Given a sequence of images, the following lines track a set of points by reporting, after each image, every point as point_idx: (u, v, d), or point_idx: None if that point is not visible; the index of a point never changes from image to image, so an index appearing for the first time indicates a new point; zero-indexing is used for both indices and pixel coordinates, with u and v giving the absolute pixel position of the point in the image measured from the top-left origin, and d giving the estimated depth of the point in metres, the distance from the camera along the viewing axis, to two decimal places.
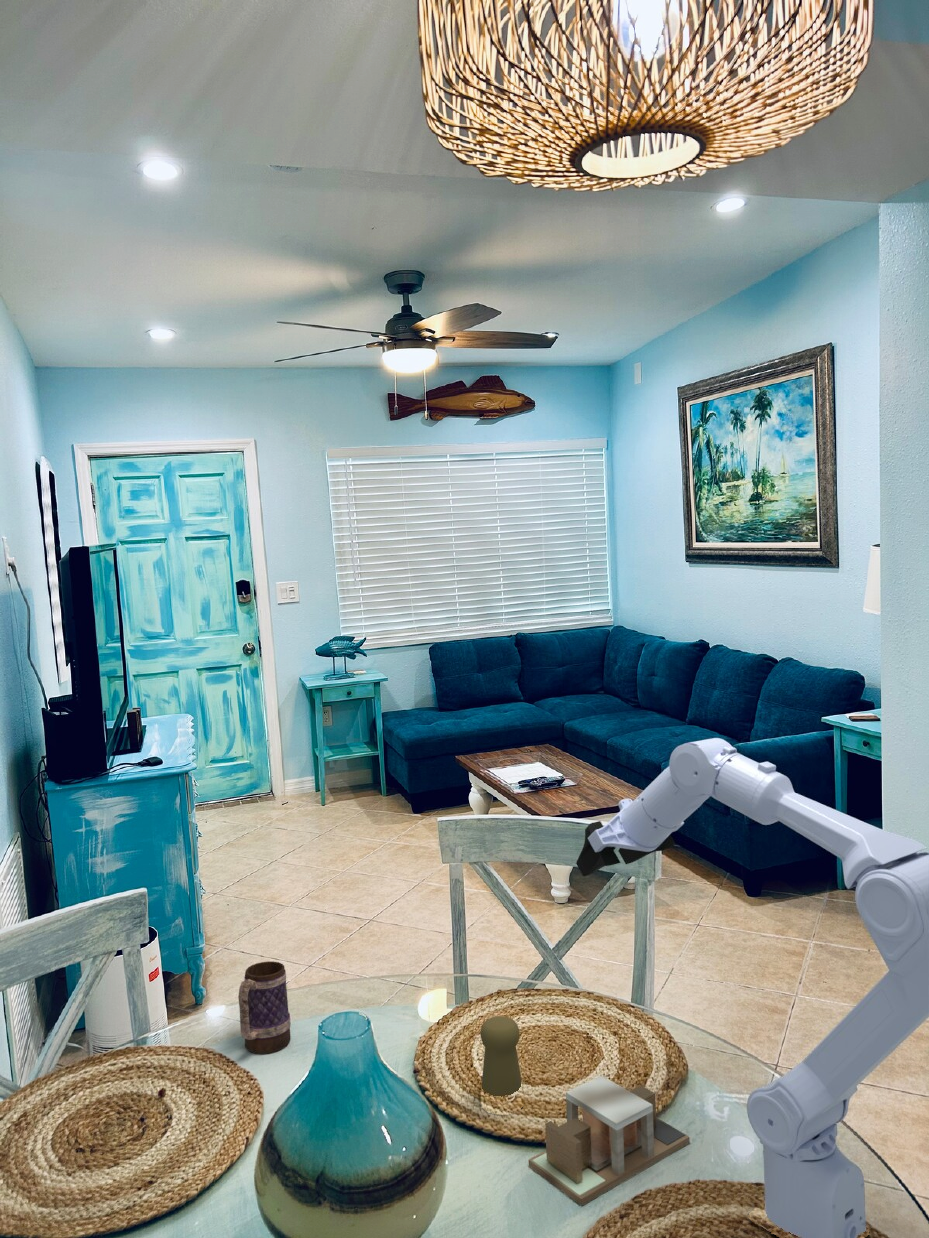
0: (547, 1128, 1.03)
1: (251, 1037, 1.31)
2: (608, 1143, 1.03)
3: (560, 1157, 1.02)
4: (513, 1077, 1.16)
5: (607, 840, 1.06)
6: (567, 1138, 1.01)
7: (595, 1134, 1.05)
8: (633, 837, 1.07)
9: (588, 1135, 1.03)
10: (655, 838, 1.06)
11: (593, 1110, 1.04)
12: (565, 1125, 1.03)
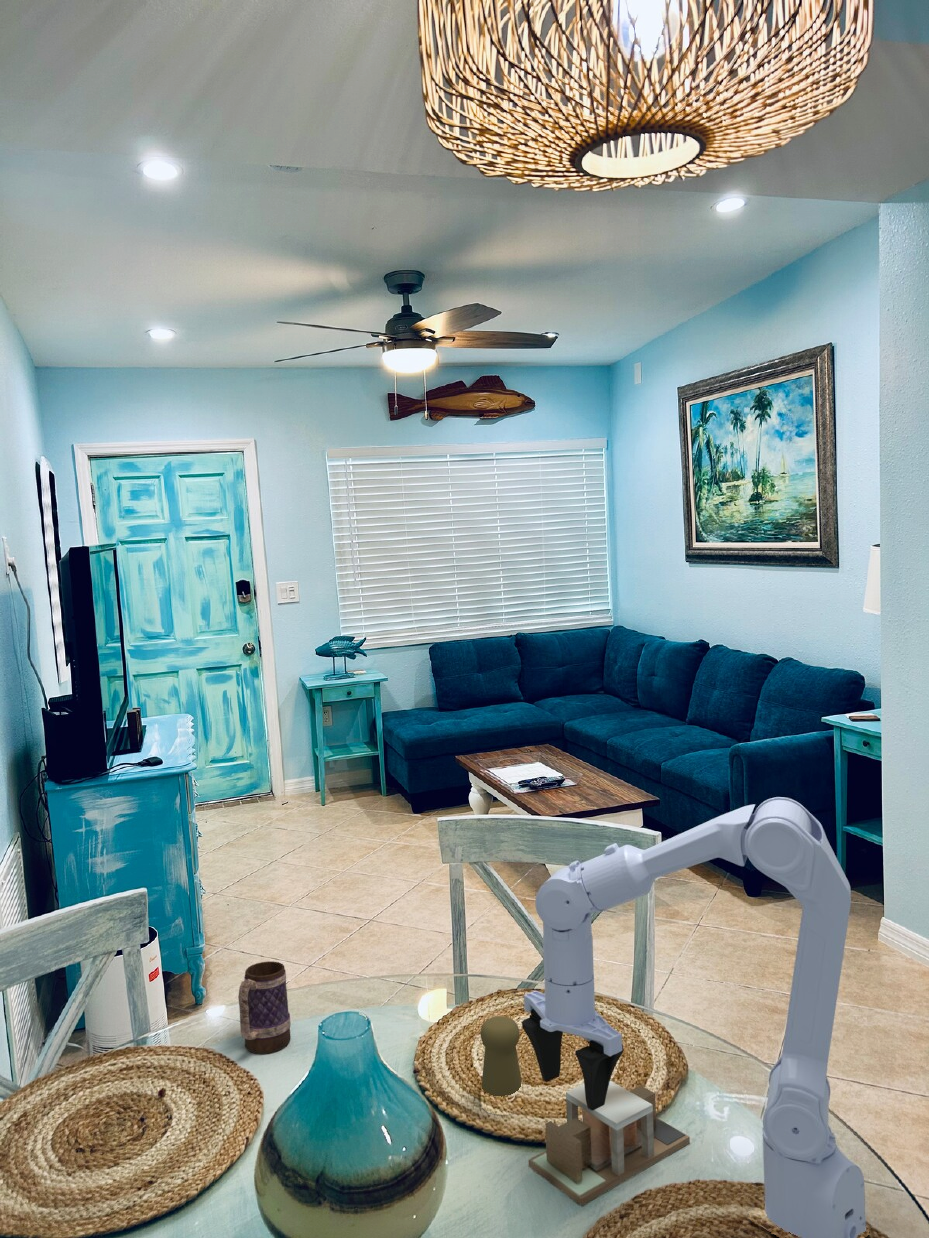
0: (547, 1128, 1.03)
1: (251, 1037, 1.31)
2: (608, 1143, 1.03)
3: (560, 1157, 1.02)
4: (513, 1077, 1.16)
5: None
6: (567, 1138, 1.01)
7: (595, 1134, 1.05)
8: (593, 1014, 1.01)
9: (588, 1135, 1.03)
10: None
11: (593, 1110, 1.04)
12: (565, 1125, 1.03)
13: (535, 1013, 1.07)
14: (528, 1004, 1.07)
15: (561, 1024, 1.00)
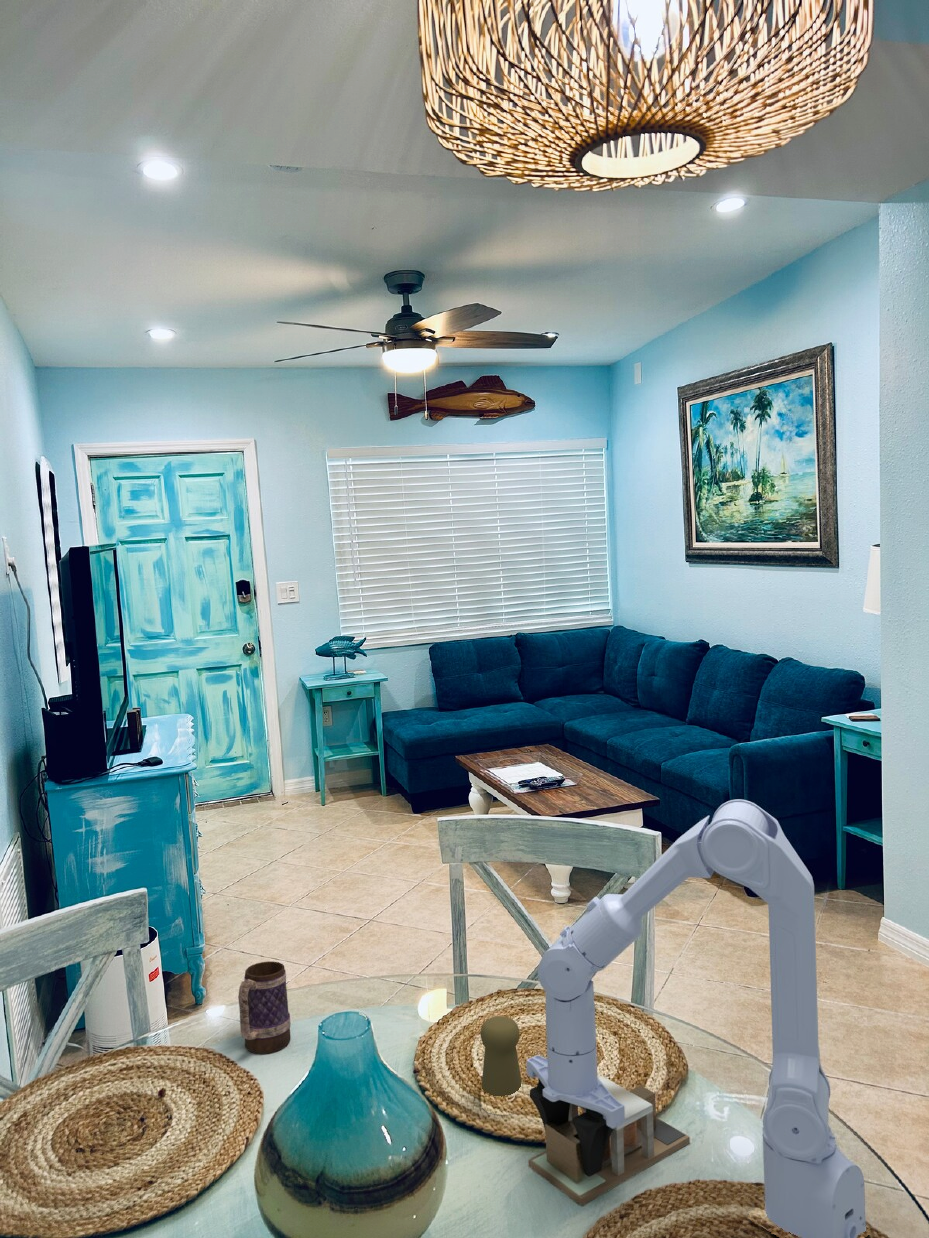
0: (547, 1128, 1.03)
1: (251, 1037, 1.31)
2: (608, 1143, 1.03)
3: (560, 1157, 1.02)
4: (513, 1077, 1.16)
5: None
6: (567, 1138, 1.01)
7: None
8: (595, 1083, 1.02)
9: None
10: None
11: None
12: (565, 1125, 1.03)
13: None
14: (530, 1069, 1.08)
15: (564, 1094, 1.00)
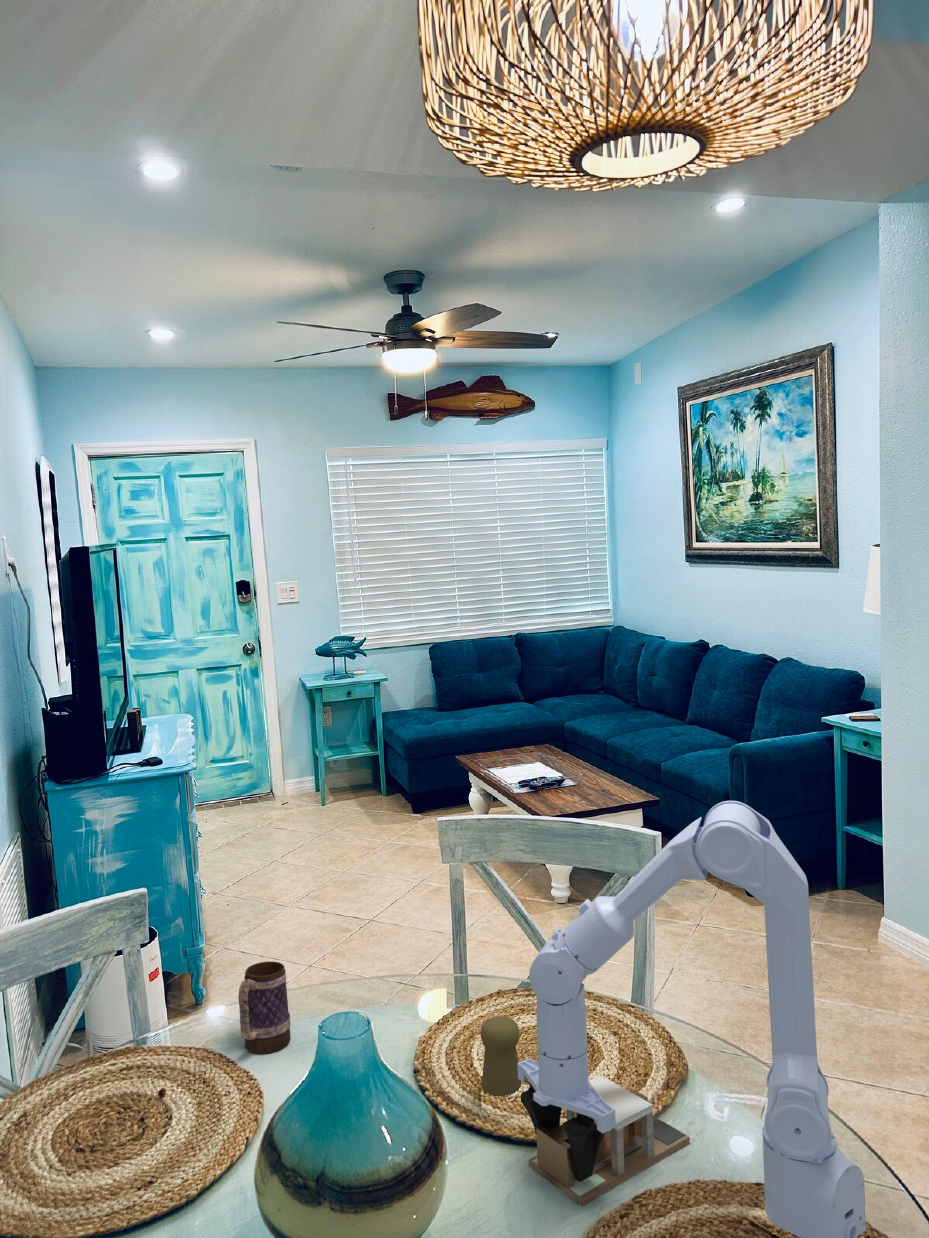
0: (538, 1132, 1.03)
1: (251, 1037, 1.31)
2: (600, 1148, 1.03)
3: (551, 1162, 1.01)
4: (513, 1077, 1.16)
5: None
6: (558, 1143, 1.00)
7: None
8: (587, 1087, 1.01)
9: None
10: None
11: None
12: (556, 1129, 1.02)
13: None
14: (522, 1073, 1.07)
15: (554, 1098, 0.99)
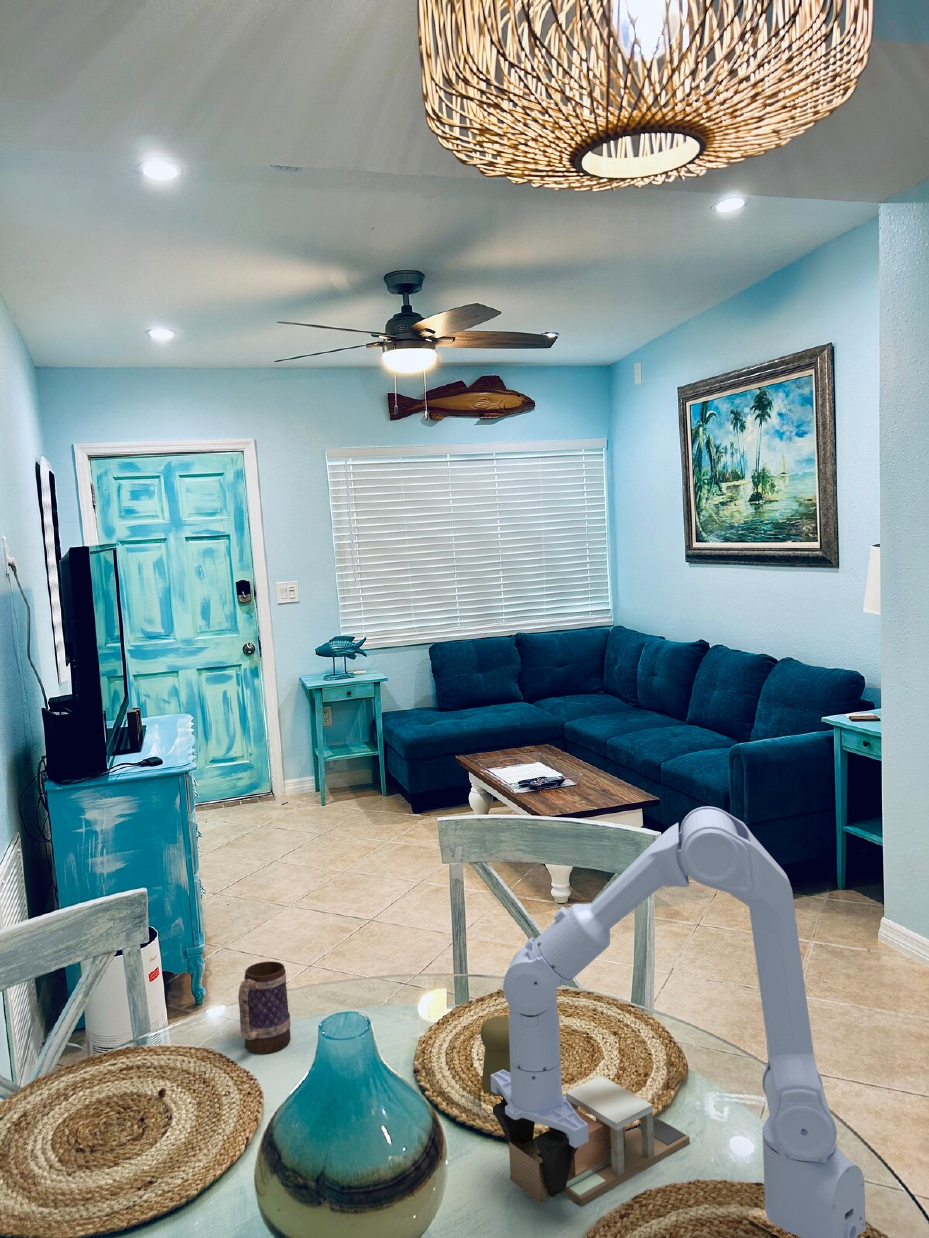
0: (511, 1146, 1.00)
1: (251, 1037, 1.31)
2: (573, 1162, 1.00)
3: (523, 1176, 0.99)
4: None
5: None
6: (530, 1157, 0.98)
7: None
8: (560, 1100, 0.98)
9: None
10: None
11: (593, 1110, 1.04)
12: (529, 1143, 1.00)
13: (502, 1095, 1.04)
14: (495, 1085, 1.04)
15: (526, 1111, 0.97)
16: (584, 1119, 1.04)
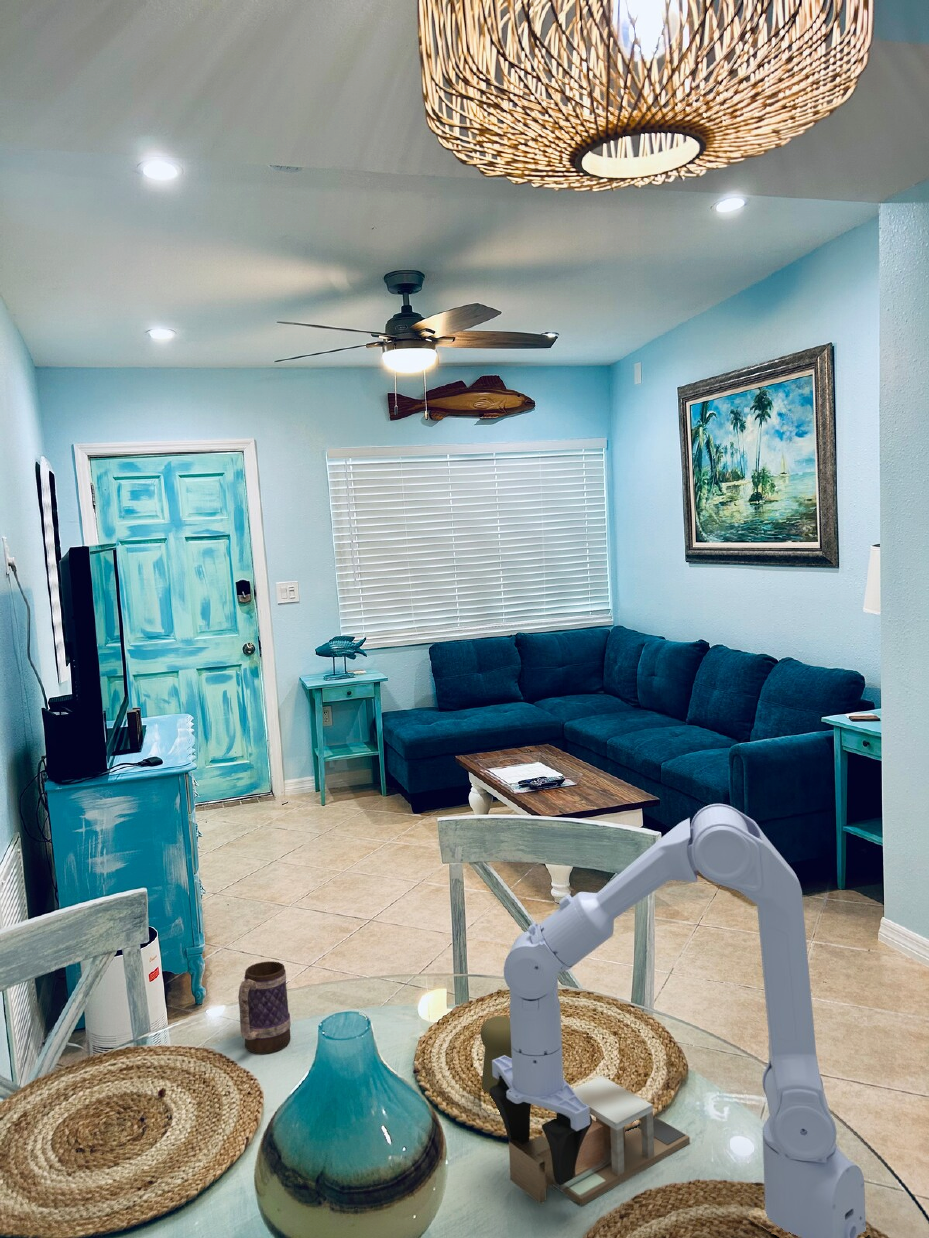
0: (511, 1146, 1.00)
1: (251, 1037, 1.31)
2: None
3: (523, 1176, 0.99)
4: None
5: None
6: (530, 1157, 0.98)
7: None
8: (561, 1084, 0.98)
9: None
10: None
11: (593, 1110, 1.04)
12: (529, 1143, 1.00)
13: (503, 1080, 1.04)
14: (496, 1070, 1.04)
15: (528, 1095, 0.97)
16: None
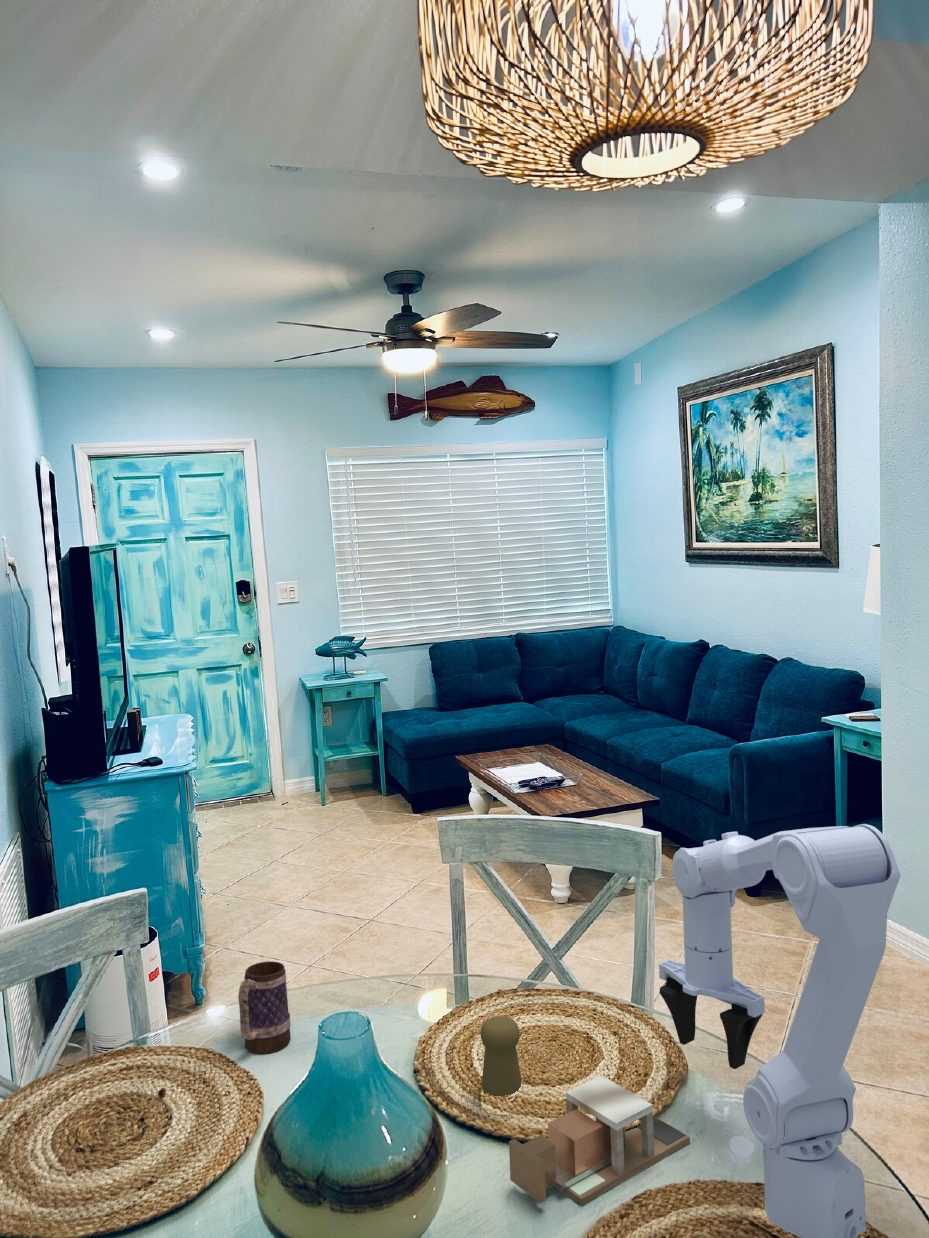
0: (511, 1146, 1.00)
1: (251, 1037, 1.31)
2: (573, 1162, 1.00)
3: (523, 1176, 0.99)
4: (513, 1077, 1.16)
5: None
6: (530, 1157, 0.98)
7: (561, 1152, 1.02)
8: (732, 980, 1.08)
9: (553, 1154, 0.99)
10: None
11: (593, 1110, 1.04)
12: (529, 1143, 1.00)
13: (671, 980, 1.14)
14: (664, 972, 1.14)
15: (704, 989, 1.07)
16: (584, 1119, 1.04)
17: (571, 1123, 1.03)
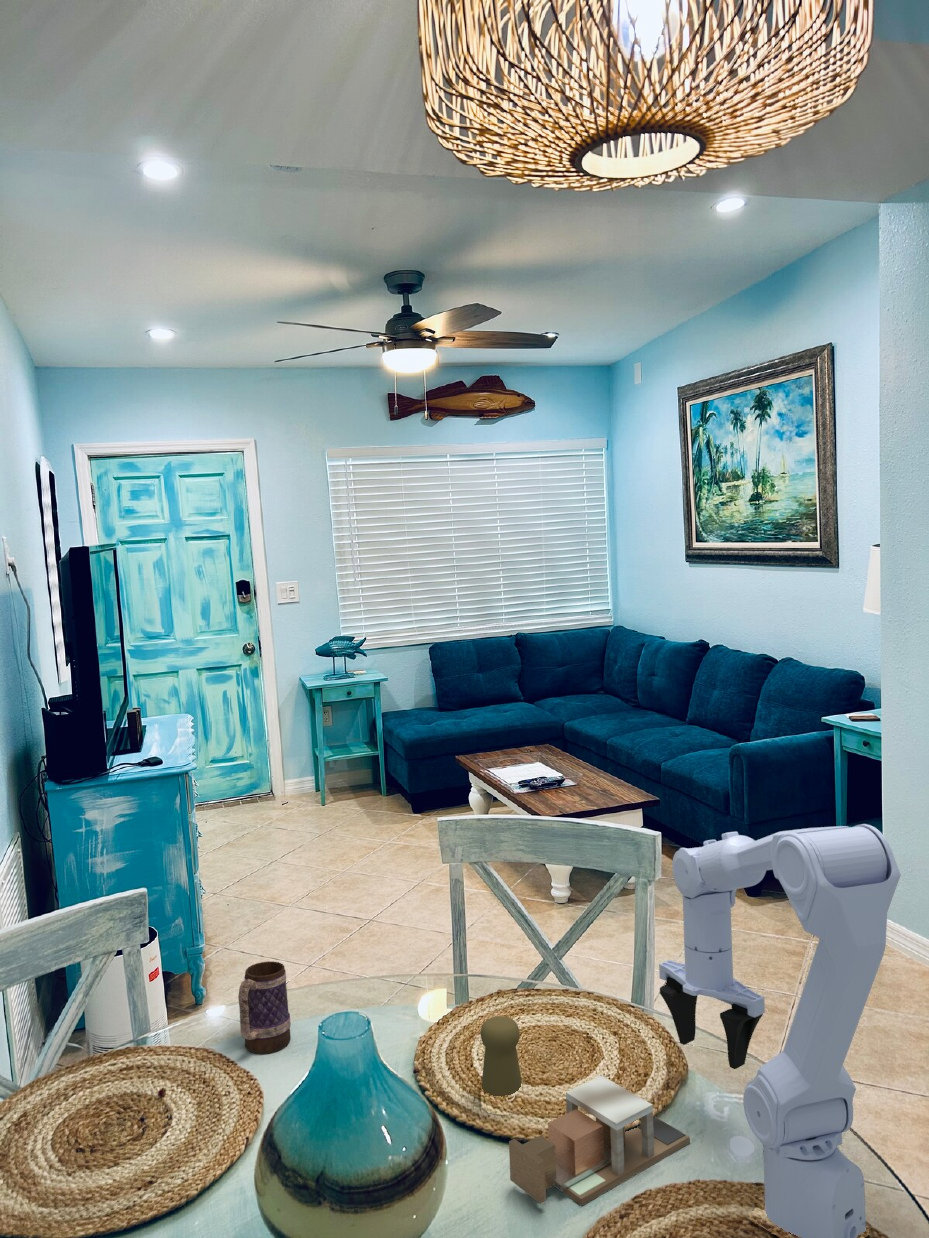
0: (511, 1146, 1.00)
1: (251, 1037, 1.31)
2: (573, 1162, 1.00)
3: (523, 1176, 0.99)
4: (513, 1077, 1.16)
5: None
6: (530, 1157, 0.98)
7: (561, 1152, 1.02)
8: (732, 980, 1.08)
9: (553, 1154, 0.99)
10: None
11: (593, 1110, 1.04)
12: (529, 1143, 1.00)
13: (671, 980, 1.14)
14: (664, 972, 1.14)
15: (704, 989, 1.07)
16: (584, 1119, 1.04)
17: (571, 1123, 1.03)
